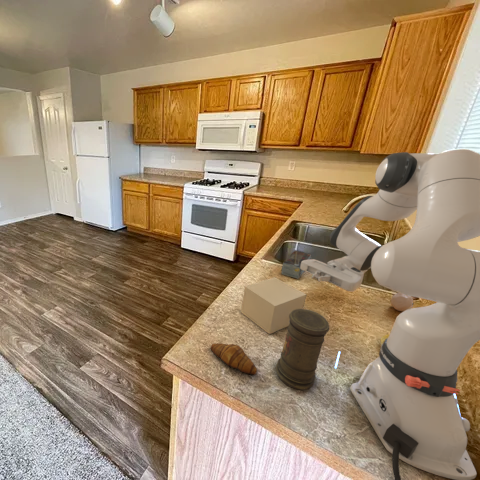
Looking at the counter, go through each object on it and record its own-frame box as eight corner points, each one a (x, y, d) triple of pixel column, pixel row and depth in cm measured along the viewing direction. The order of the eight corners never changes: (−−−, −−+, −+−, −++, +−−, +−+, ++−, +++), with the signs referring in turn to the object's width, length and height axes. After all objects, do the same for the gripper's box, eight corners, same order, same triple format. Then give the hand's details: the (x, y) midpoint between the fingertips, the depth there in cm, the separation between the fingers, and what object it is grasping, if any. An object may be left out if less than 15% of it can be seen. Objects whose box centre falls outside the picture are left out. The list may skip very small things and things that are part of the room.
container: (317, 374, 69) (335, 318, 63) (308, 397, 63) (326, 337, 56) (282, 356, 75) (295, 302, 68) (270, 376, 68) (283, 319, 62)
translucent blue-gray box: (279, 274, 120) (282, 261, 118) (292, 260, 134) (294, 248, 132) (298, 279, 116) (301, 266, 113) (309, 265, 129) (312, 253, 127)
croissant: (261, 368, 71) (264, 353, 69) (250, 384, 66) (253, 369, 64) (217, 343, 79) (218, 329, 77) (204, 355, 75) (206, 341, 73)
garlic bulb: (415, 313, 94) (423, 294, 91) (400, 315, 93) (409, 296, 90) (396, 302, 100) (403, 284, 97) (382, 304, 99) (389, 286, 96)
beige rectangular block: (270, 301, 100) (274, 277, 96) (299, 321, 89) (306, 294, 86) (240, 312, 94) (244, 286, 90) (269, 334, 83) (275, 306, 79)
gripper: (314, 253, 110) (292, 259, 104) (369, 274, 93) (346, 283, 87) (311, 267, 113) (289, 273, 107) (363, 290, 96) (341, 299, 90)
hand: (315, 278), depth 97 cm, fingers closed
